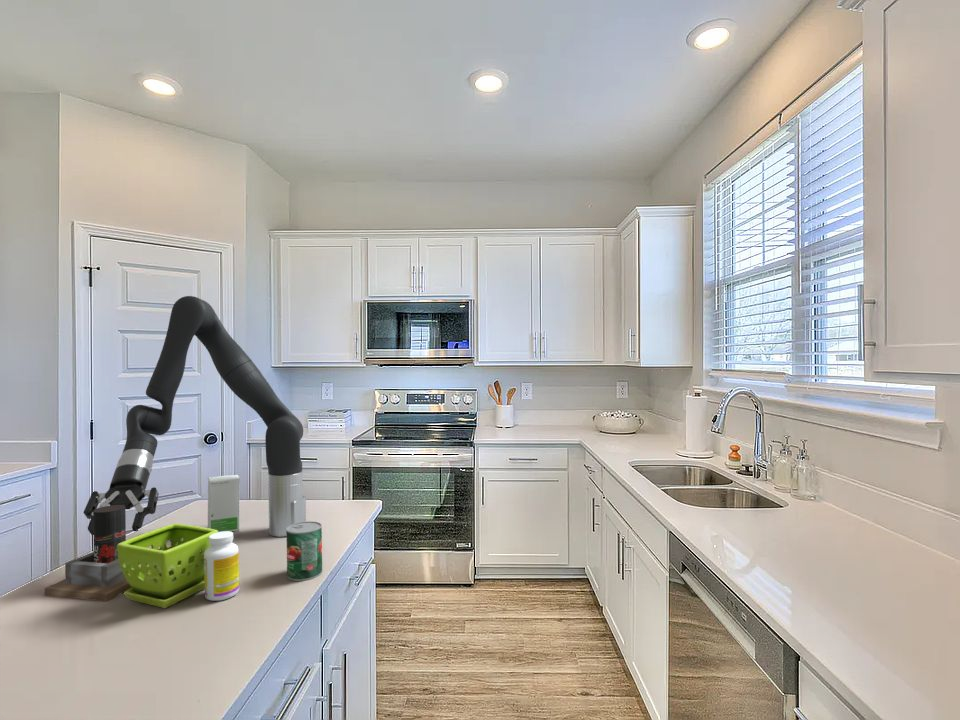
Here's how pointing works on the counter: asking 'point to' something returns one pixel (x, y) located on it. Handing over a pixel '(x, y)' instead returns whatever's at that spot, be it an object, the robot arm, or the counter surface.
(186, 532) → the flower pot
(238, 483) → the skincare box
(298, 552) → the canned tomato
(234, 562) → the supplement bottle
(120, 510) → the deodorant
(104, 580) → the jig
